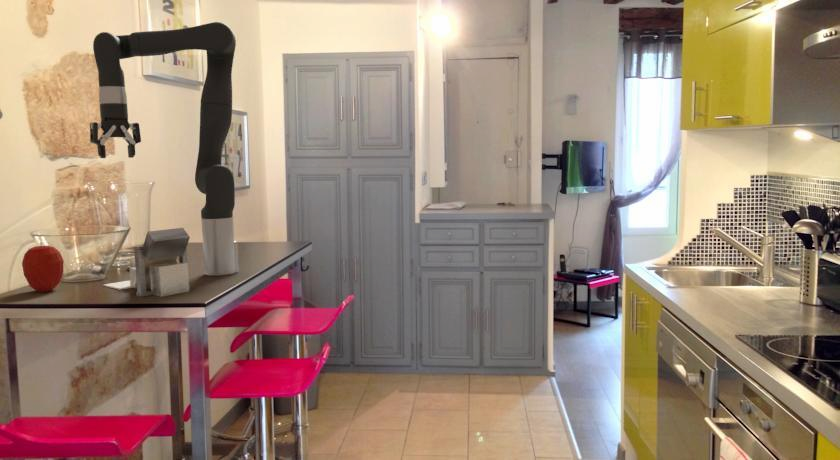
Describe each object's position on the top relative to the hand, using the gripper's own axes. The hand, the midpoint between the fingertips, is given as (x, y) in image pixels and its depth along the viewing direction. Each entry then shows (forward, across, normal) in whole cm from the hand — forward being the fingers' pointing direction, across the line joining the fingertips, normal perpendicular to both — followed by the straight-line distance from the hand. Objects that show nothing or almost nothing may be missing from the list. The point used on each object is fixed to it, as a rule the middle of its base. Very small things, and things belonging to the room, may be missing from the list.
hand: (117, 157), depth 209 cm
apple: (+36, -24, -2) cm, 44 cm away
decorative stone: (+37, +10, +12) cm, 40 cm away
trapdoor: (+29, -5, -33) cm, 44 cm away
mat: (+36, -5, -14) cm, 39 cm away
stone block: (+34, -5, -25) cm, 42 cm away
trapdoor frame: (+36, -5, -34) cm, 50 cm away
